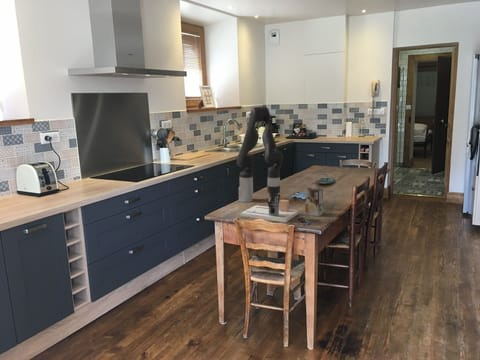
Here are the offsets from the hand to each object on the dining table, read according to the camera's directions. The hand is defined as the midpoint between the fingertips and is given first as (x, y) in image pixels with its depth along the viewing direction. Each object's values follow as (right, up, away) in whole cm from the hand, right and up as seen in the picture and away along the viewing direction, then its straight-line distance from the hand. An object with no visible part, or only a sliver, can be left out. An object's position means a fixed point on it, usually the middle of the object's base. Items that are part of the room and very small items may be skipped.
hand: (273, 212), depth 247 cm
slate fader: (0, -1, 0) cm, 1 cm away
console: (-2, -2, +8) cm, 9 cm away
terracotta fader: (+7, +1, +10) cm, 12 cm away
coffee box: (+26, -2, +8) cm, 27 cm away
